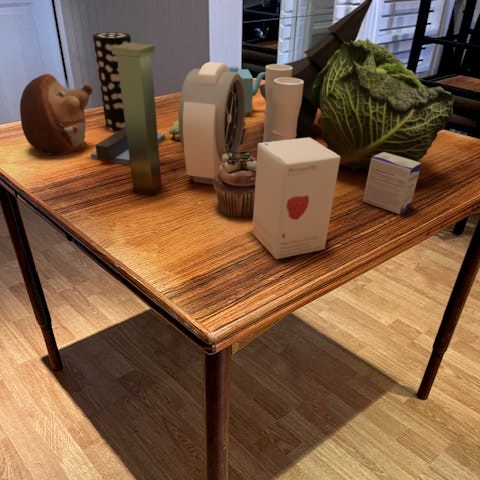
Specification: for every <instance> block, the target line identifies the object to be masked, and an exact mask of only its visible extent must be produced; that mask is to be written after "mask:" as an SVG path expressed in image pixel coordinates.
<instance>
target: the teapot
mask: <svg viewBox="0 0 480 480" xmlns="http://www.w3.org/2000/svg"><path fill="white" fill-rule="evenodd" d="M228 67H229V72H237V73H238V74H239V75H240V76H241V78H242V80H243V84H244V89H245V117H246V116H248V115H249V112H250V113H251V112H253V98H254V97H256V95H257V93H258V92H259V90H260V88H259V86H261V83H262V80H263V78H265V73H266V71H264V72H260V73H258V74H257V76H256V79H255V82H254V78H253V76H252V74H251V72H250V70H249V69H248V68H247V69H246V68H245V69H244V68H242V69H240V68H239V66H235V65H231V66H228Z"/></svg>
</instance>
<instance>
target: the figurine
mask: <svg viewBox="0 0 480 480" xmlns="http://www.w3.org/2000/svg"><path fill="white" fill-rule="evenodd" d="M93 92H94V91H93V86H92V85H91V84H85V85H83V86H82V88H67V87H65V86H63V85H62V84H61V82H60V81H58V79H57V78H56V77H55V76H54V75H53V74H50V73H45V74H42V75H40V76H37V77H35V78H33V79H32V80H30V81H29V83H27V84H26V86H25V87H24V89H23V91H22V94H21V96H20V103H19V115H20V123H21V129H22V132H23V135H24V137H25V139H26V141H27V143H28V144H29V145H30V146H31V147H32V148H34V149H35V150H36V151H38V152H40V153H42V154H45V155H51V156H56V155H64V154H68V153H72V152H78V151H81V150H84V149H85V148H86V147H87V142H86V141H85V139H86V129H87V128H86V127H87V126H86V125H87V124H86V116H85V114H86V113H85V109H86V107H87V106H88V103H89V100H90V96H91V95H92V94H93Z"/></svg>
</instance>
